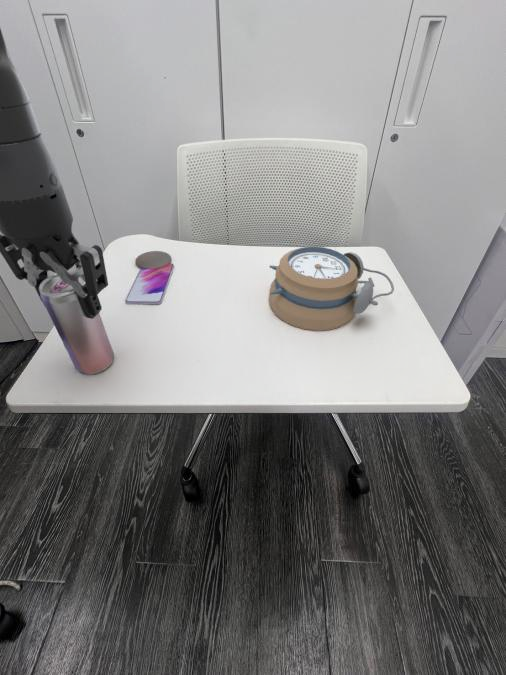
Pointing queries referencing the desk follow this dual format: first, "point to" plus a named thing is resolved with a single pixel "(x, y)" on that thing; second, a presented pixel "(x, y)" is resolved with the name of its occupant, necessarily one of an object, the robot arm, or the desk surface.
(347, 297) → the alarm clock
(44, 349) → the desk surface
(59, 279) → the beverage can
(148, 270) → the smartphone
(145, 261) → the coaster
